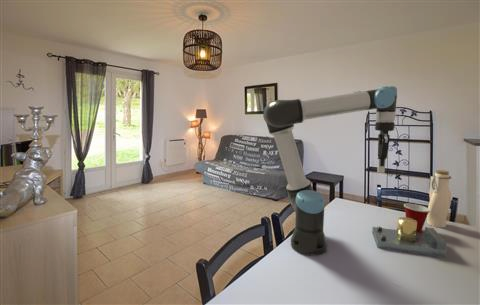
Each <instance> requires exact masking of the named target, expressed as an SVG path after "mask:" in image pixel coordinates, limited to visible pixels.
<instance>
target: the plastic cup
mask: <svg viewBox="0 0 480 305" xmlns="http://www.w3.org/2000/svg"><path fill="white" fill-rule="evenodd" d="M403 208H404V212H405V217H407V218H411V219H414V220H416V221H417V228H416V232H417V233H422V230H423V227H424V225H425V222H426V221H427V215H428V213H429V212H430V209H429V208H428V207H426V206H424V205H421V204H414V203H404V204H403Z"/></svg>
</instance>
